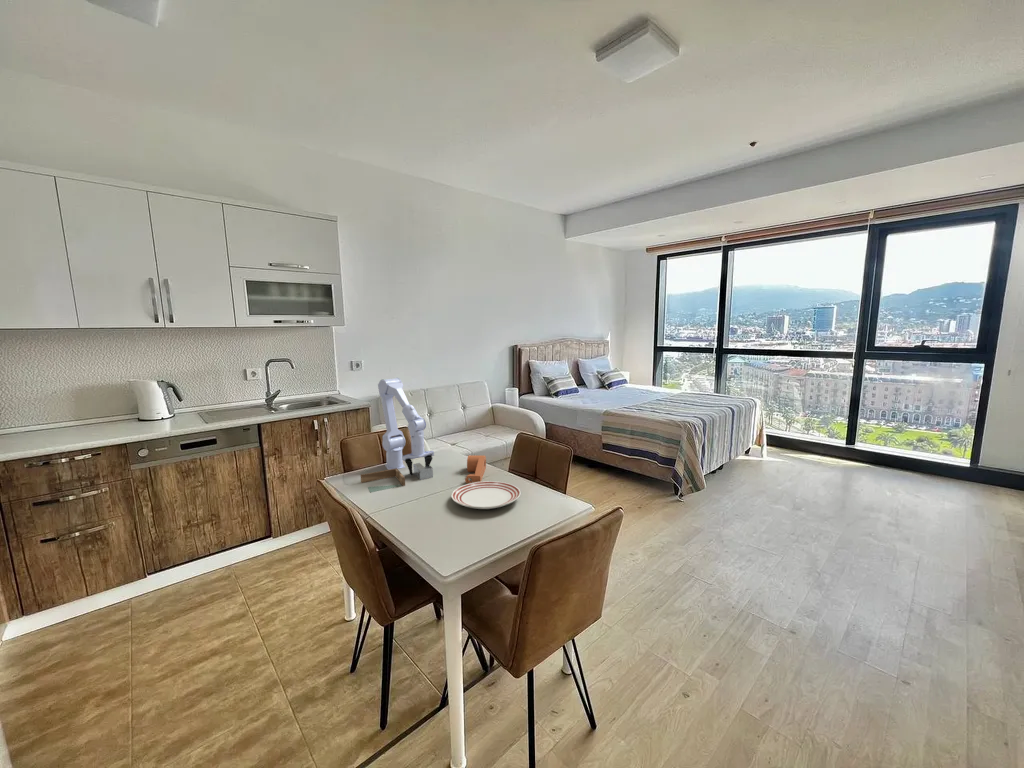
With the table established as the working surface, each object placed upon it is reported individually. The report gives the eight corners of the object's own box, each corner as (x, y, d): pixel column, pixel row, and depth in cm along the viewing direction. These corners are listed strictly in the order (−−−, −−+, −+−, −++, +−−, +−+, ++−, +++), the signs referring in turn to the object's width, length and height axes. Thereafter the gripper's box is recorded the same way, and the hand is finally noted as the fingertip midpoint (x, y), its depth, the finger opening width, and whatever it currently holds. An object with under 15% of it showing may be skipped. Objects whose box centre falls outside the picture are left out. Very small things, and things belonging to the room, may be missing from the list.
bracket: (413, 474, 187) (413, 464, 187) (426, 471, 190) (425, 461, 190) (420, 480, 179) (419, 470, 178) (433, 478, 182) (432, 467, 181)
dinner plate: (449, 490, 168) (449, 482, 168) (512, 484, 174) (512, 476, 173) (453, 519, 141) (453, 510, 141) (528, 511, 147) (528, 502, 146)
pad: (367, 487, 172) (367, 486, 172) (397, 481, 178) (397, 480, 178) (370, 492, 166) (370, 492, 166) (401, 486, 172) (401, 485, 172)
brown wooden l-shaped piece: (361, 483, 176) (360, 474, 176) (397, 476, 184) (396, 468, 184) (366, 494, 164) (366, 484, 164) (405, 486, 172) (404, 477, 172)
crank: (470, 469, 194) (469, 453, 193) (486, 469, 193) (485, 453, 192) (462, 484, 174) (461, 467, 173) (480, 484, 174) (479, 467, 173)
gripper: (404, 449, 176) (405, 478, 178) (435, 444, 183) (436, 472, 185) (400, 445, 182) (401, 473, 184) (430, 440, 189) (432, 468, 191)
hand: (419, 472), depth 185 cm, fingers open, 7 cm apart
